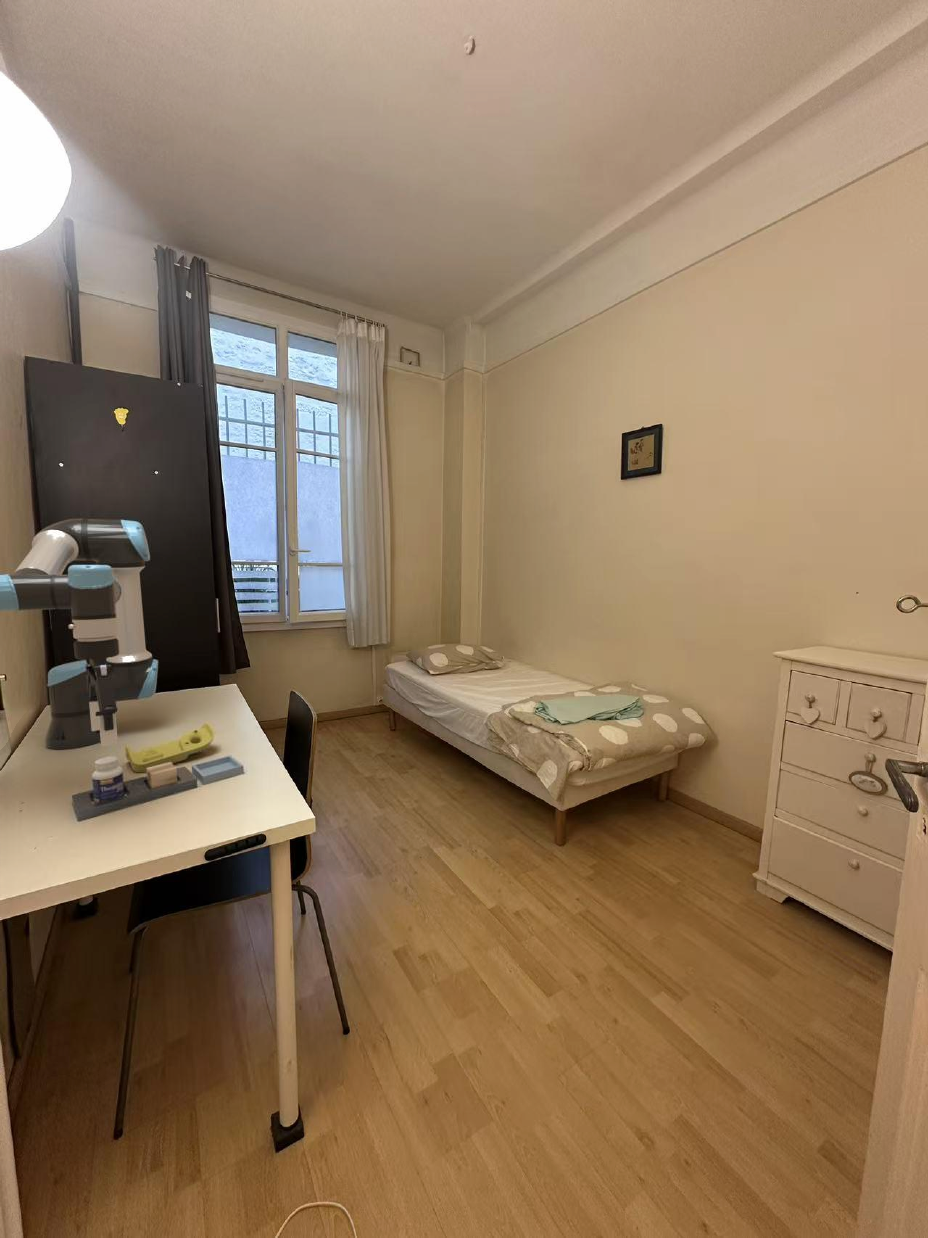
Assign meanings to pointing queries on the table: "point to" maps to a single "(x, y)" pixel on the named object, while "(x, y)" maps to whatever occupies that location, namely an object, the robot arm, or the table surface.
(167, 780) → the beech block
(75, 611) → the robot arm
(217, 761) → the tray
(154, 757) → the plastic component
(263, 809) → the table surface
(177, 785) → the rail
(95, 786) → the pill bottle
